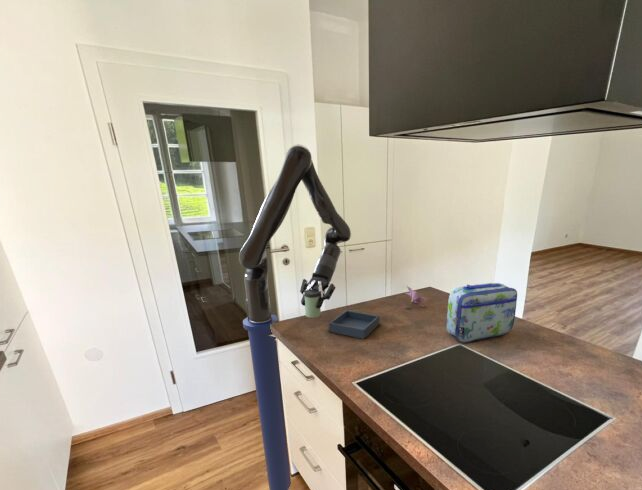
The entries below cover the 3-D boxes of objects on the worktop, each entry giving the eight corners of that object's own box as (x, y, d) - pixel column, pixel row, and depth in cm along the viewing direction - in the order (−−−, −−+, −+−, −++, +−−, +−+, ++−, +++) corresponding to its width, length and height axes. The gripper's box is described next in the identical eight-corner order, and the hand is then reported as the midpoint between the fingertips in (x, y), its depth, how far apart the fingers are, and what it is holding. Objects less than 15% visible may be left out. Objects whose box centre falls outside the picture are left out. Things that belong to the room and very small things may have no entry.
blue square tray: (329, 331, 143) (328, 322, 141) (346, 318, 155) (346, 310, 154) (363, 338, 137) (364, 329, 136) (379, 324, 150) (379, 315, 148)
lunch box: (455, 346, 133) (462, 292, 124) (441, 334, 142) (446, 283, 134) (514, 337, 140) (524, 286, 132) (497, 326, 149) (505, 278, 141)
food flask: (302, 316, 138) (300, 292, 134) (310, 311, 143) (309, 288, 140) (315, 319, 136) (314, 295, 132) (323, 313, 141) (322, 290, 137)
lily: (426, 314, 163) (433, 294, 163) (403, 305, 160) (411, 285, 160) (416, 312, 175) (423, 294, 175) (395, 304, 172) (401, 285, 172)
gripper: (305, 261, 141) (289, 298, 136) (337, 265, 136) (322, 305, 131) (313, 271, 148) (298, 307, 142) (344, 275, 143) (330, 313, 137)
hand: (310, 306), depth 137 cm, fingers closed on food flask, 6 cm apart
